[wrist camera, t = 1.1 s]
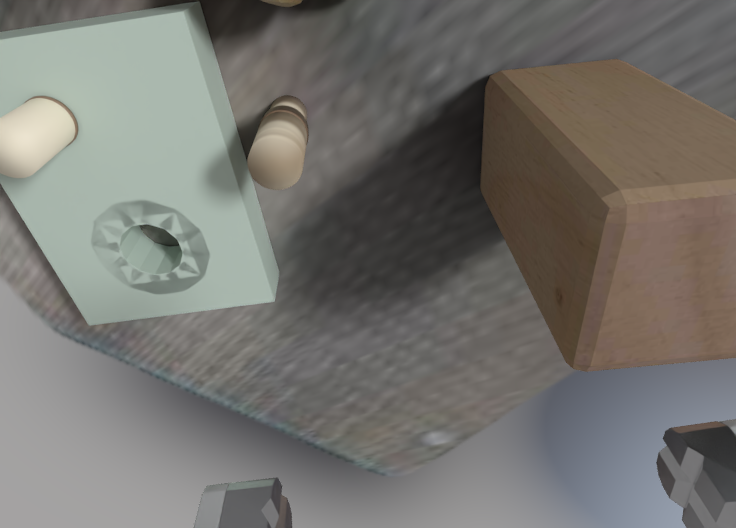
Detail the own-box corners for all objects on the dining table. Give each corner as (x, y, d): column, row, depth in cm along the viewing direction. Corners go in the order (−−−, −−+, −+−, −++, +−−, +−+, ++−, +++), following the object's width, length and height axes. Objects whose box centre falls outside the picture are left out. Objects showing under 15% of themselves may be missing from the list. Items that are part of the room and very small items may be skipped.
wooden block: (476, 194, 41) (566, 382, 25) (482, 68, 35) (605, 204, 19) (598, 182, 41) (769, 363, 24) (624, 54, 35) (872, 178, 19)
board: (-40, 38, 32) (-150, 75, 25) (199, 1, 32) (157, 27, 24) (107, 295, 45) (61, 370, 38) (279, 273, 45) (267, 344, 37)
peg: (260, 94, 35) (239, 142, 28) (306, 87, 35) (297, 134, 28) (271, 138, 37) (254, 194, 30) (315, 132, 37) (308, 186, 30)
